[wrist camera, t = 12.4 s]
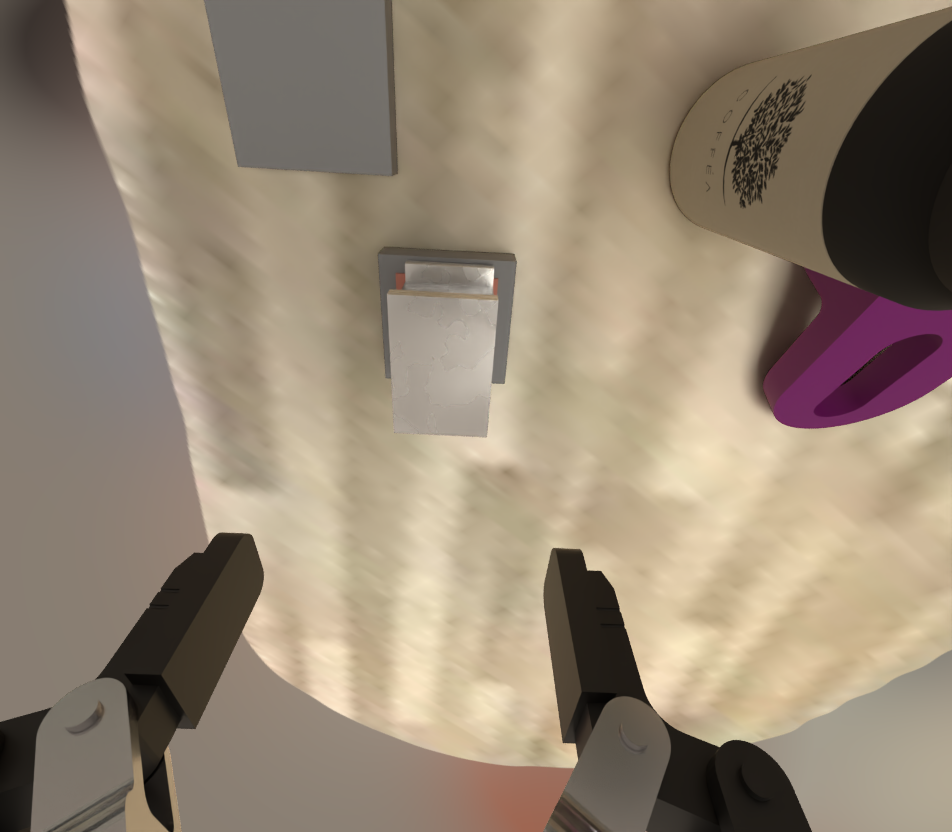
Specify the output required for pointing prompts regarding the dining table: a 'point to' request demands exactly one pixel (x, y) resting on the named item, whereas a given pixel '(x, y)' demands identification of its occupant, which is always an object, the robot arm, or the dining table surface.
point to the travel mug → (834, 159)
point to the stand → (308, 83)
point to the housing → (442, 348)
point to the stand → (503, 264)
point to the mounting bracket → (858, 359)
